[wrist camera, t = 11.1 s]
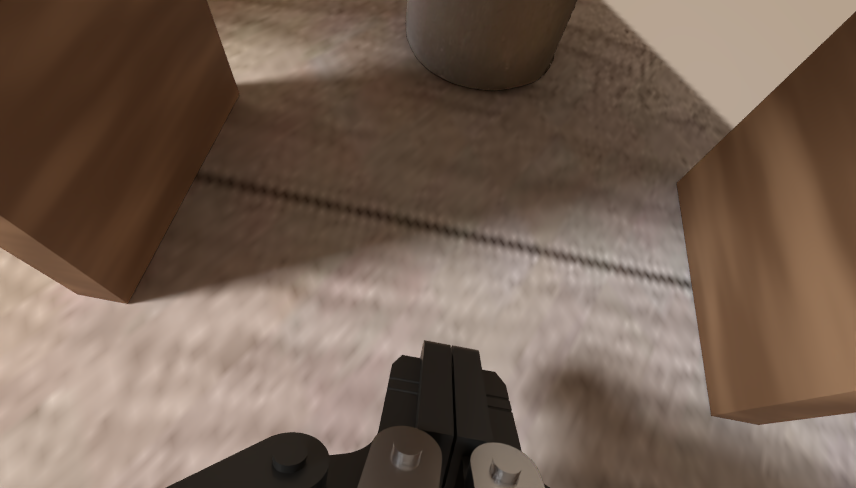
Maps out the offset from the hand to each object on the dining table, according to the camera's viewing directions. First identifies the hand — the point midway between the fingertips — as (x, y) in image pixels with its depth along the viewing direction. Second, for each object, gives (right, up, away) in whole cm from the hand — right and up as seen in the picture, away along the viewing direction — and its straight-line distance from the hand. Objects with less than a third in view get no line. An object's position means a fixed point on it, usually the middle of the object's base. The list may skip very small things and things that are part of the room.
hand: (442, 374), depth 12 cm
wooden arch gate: (0, +4, +9) cm, 9 cm away
